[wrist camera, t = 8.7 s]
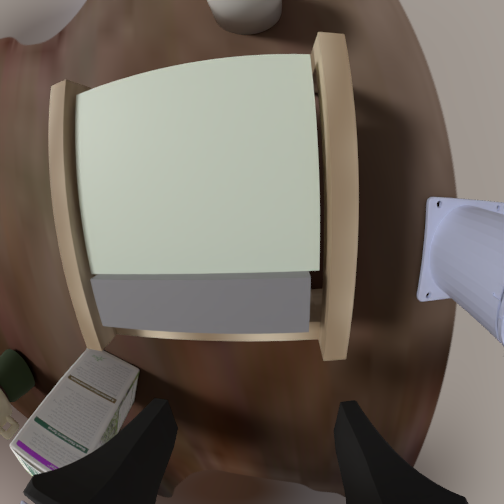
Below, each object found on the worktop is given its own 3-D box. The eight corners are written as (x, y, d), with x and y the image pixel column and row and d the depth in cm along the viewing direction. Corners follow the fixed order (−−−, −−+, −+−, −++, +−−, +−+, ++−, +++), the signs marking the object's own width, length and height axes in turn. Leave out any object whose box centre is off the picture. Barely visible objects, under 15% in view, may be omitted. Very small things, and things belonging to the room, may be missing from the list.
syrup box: (90, 341, 23) (3, 443, 9) (143, 368, 23) (72, 493, 9) (89, 378, 24) (22, 470, 10) (137, 402, 24) (82, 509, 10)
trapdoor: (314, 313, 14) (319, 331, 13) (110, 311, 15) (96, 325, 14) (307, 62, 11) (312, 47, 9) (86, 98, 12) (67, 92, 10)
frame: (321, 76, 15) (344, 34, 9) (325, 303, 20) (345, 359, 13) (108, 103, 16) (51, 86, 10) (130, 304, 21) (87, 348, 14)
